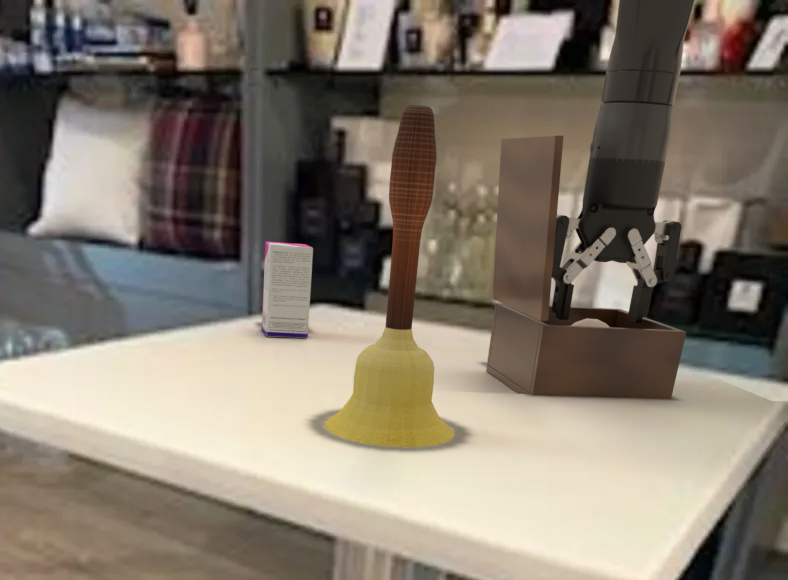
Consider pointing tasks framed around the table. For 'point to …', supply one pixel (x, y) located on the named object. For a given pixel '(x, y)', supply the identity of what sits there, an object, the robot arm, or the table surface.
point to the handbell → (399, 313)
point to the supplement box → (286, 289)
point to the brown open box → (584, 354)
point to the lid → (527, 223)
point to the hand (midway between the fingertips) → (598, 320)
